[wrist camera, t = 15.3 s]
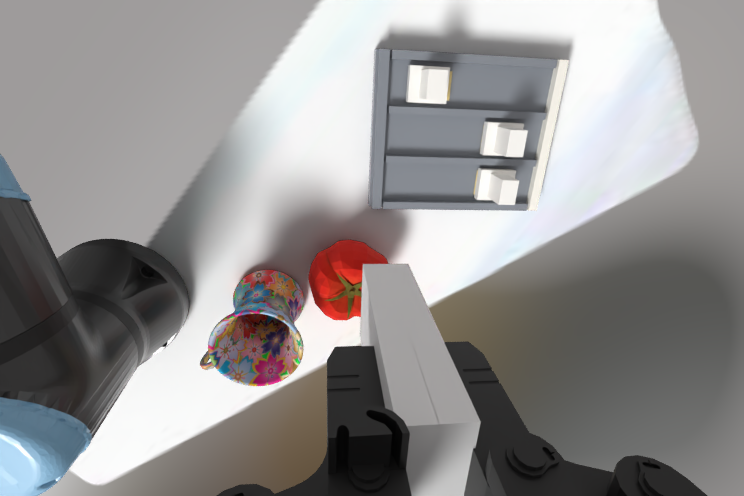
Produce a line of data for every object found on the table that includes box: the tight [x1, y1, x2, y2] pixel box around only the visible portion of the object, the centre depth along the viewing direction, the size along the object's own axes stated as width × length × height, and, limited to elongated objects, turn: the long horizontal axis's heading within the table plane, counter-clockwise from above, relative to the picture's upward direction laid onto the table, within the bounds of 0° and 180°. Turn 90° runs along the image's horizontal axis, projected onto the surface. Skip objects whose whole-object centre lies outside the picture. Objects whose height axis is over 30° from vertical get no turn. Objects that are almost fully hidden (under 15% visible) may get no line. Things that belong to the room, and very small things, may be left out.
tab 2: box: [480, 121, 528, 157], centre depth 41 cm, size 4×3×4 cm
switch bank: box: [368, 49, 569, 211], centre depth 43 cm, size 20×16×2 cm
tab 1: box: [406, 65, 450, 104], centre depth 38 cm, size 4×3×4 cm
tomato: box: [308, 240, 388, 320], centre depth 45 cm, size 9×9×8 cm
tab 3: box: [474, 168, 519, 205], centre depth 43 cm, size 4×3×4 cm
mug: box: [200, 270, 304, 386], centre depth 44 cm, size 12×9×11 cm
